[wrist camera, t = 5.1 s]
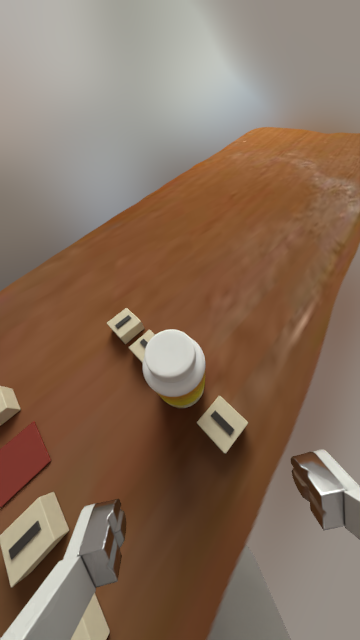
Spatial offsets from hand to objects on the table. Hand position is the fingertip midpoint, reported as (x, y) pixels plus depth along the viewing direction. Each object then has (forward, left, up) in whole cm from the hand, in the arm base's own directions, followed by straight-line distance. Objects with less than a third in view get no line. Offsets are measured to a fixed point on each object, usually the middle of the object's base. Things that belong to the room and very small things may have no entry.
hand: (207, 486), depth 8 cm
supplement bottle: (+7, -4, -12) cm, 14 cm away
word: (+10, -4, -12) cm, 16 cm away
